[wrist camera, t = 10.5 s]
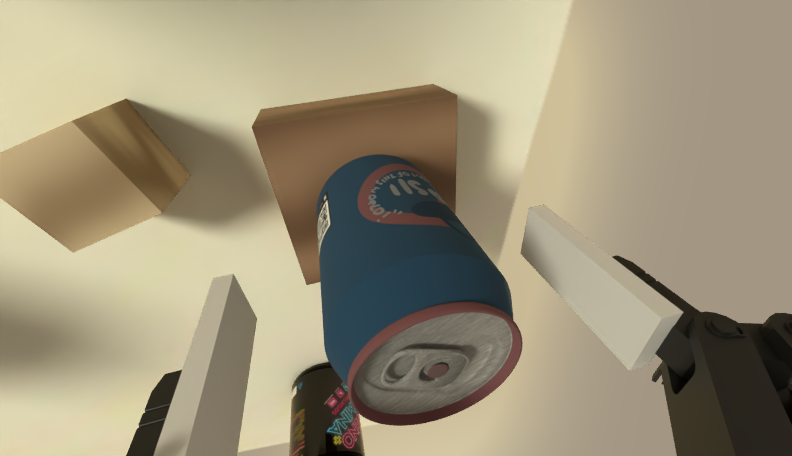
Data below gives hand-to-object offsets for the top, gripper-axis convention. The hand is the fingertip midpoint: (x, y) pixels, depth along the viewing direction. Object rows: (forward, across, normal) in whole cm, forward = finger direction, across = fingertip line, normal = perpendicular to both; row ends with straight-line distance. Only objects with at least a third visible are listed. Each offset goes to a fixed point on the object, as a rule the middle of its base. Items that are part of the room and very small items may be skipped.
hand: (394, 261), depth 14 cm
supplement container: (+10, -8, -24) cm, 27 cm away
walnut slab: (+10, 0, 0) cm, 11 cm away
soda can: (+7, 0, 0) cm, 7 cm away
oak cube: (+11, -14, +4) cm, 18 cm away
